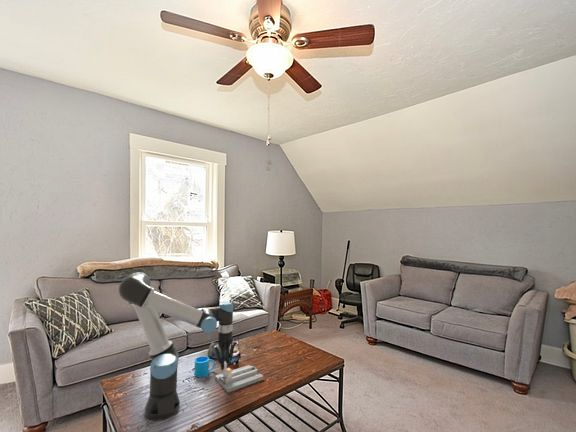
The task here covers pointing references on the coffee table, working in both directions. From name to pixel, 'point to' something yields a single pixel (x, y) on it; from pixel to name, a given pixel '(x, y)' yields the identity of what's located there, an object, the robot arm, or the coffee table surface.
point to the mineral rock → (213, 351)
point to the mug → (202, 366)
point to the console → (239, 378)
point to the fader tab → (228, 373)
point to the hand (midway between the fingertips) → (224, 374)
